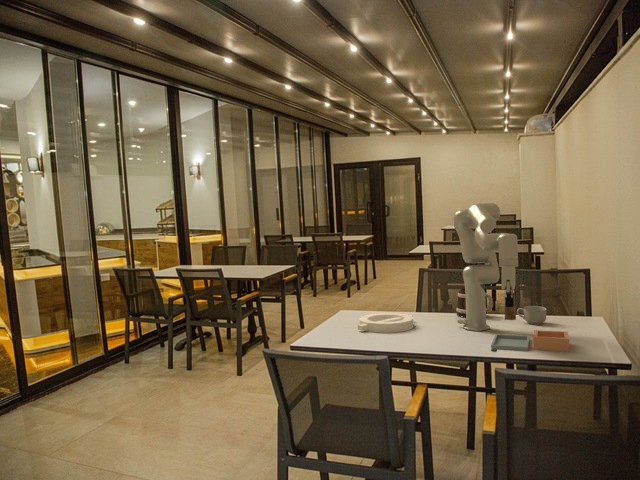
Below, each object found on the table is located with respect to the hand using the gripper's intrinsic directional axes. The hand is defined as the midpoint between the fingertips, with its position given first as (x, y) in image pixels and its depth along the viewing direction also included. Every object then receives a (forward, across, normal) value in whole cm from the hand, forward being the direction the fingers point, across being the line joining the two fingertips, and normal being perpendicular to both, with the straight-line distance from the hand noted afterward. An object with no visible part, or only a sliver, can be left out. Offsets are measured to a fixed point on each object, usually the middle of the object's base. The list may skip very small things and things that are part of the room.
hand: (509, 305), depth 207 cm
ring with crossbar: (+18, -25, -63) cm, 70 cm away
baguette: (+6, 0, 0) cm, 6 cm away
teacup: (+18, -50, +7) cm, 54 cm away
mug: (+17, -63, -23) cm, 70 cm away
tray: (+18, 0, 0) cm, 18 cm away
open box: (+18, 0, +15) cm, 23 cm away
